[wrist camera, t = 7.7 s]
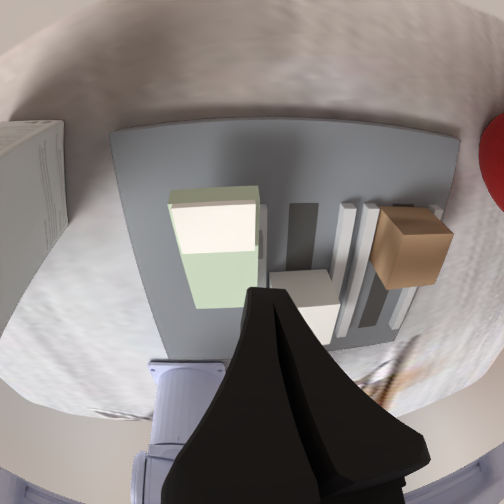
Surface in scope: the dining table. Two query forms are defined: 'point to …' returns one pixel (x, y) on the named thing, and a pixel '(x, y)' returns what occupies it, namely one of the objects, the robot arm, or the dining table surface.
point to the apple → (493, 159)
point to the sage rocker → (217, 242)
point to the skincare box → (28, 204)
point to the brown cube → (408, 246)
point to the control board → (280, 212)
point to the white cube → (311, 298)
